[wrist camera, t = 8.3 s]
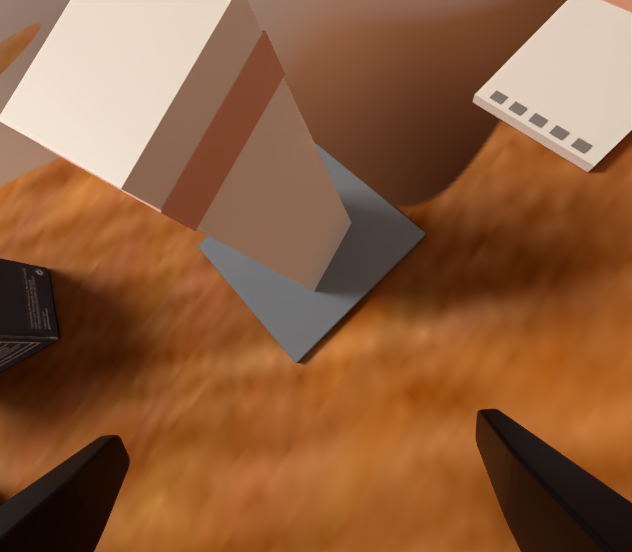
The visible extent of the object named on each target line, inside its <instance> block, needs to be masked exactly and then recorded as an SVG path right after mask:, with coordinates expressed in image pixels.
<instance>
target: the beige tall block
mask: <svg viewBox="0 0 632 552" xmlns="http://www.w3.org/2000/svg"><path fill="white" fill-rule="evenodd" d="M284 75H285V73H284V71H283V69H282V66H281V64H280V62H279V60H278V57H277V55H276V53H275V51H274V49H273V46H272V44H271V42H270V40H269V38H268V36H267V33H266V31H262V30H261V28H260V26H259V24H258V22H257V20H256V18H255V15H254V13H253V11H252V9H251V7H250V5H249V2H248V0H70V2H69V4H68V5H67V7H66V8H65V10H64V12H63V13H62V15H61V17H60V18H59V20H58V22H57V23H56V25H55V26H54V28H53V30H52V31H51V33H50V35H49V36H48V38H47V40H46V41H45V43H44V44H43V46H42V48H41V49H40V51H39V53H38V54H37V56H36V58H35V59H34V61H33V62H32V64H31V66H30V67H29V69H28V71H27V72H26V74H25V76H24V77H23V79H22V80H21V82H20V84H19V85H18V87H17V89H16V91H15V92H14V94H13V96H12V97H11V99H10V100H9V102H8V103H7V105H6V107H5V108H4V110H3V112H2V113H1V115H0V122H2V123H4V124H5V125H7V126H9V127H11V128H13V129H14V130H16V131H18V132H20V133H22V134H23V135H25V136H27V137H29V138H31V139H32V140H34V141H36V142H38V143H40V144H41V145H42V147H44V148H46V149H48V150H50V151H51V152H53V153H55V154H57V155H59V156H60V157H62V158H64V159H66V160H67V161H69V162H71V163H73V164H75V165H76V166H78V167H80V168H82V169H84V170H85V171H87V172H89V173H91V174H92V175H94V176H96V177H98V178H100V179H101V180H103V181H105V182H107V183H109V184H110V185H112V186H114V187H116V188H118V189H119V190H121V191H123V192H125V193H126V194H128V195H130V196H132V197H134V198H135V199H137V200H139V201H141V202H143V203H144V204H146V205H148V206H150V207H151V208H153V209H155V210H157V211H159V212H160V213H162V214H164V215H166V216H168V217H170V218H172V219H174V220H176V221H178V222H180V223H181V224H183V225H185V226H187V227H189V228H191V229H193V230H195V231H196V229H197V230H199V231H201V232H203V233H205V234H207V235H209V236H210V237H212V238H214V239H216V240H218V241H220V242H222V243H224V244H225V245H227V246H229V247H231V248H233V249H235V250H237V251H239V252H241V253H242V254H244V255H246V256H248V257H250V258H252V259H254V260H256V261H257V262H259V263H261V264H263V265H265V266H267V267H269V268H271V269H272V270H274V271H276V272H278V273H280V274H282V275H284V276H286V277H287V278H289V279H291V280H293V281H295V282H297V283H299V284H301V285H302V286H304V287H306V288H308V289H310V290H312V291H315V289H316V287H317V285H318V283H319V281H320V280H321V278H322V276H323V274H324V272H325V271H326V269H327V267H328V265H329V263H330V261H331V260H332V258H333V256H334V254H335V252H336V250H337V249H338V247H339V245H340V243H341V241H342V240H343V238H344V236H345V234H346V232H347V230H348V229H349V227H350V225H351V220H350V218H349V216H348V214H347V212H346V210H345V208H344V205H343V203H342V201H341V199H340V197H339V195H338V193H337V190H336V188H335V186H334V184H333V182H332V180H331V178H330V176H329V173H328V171H327V169H326V167H325V165H324V163H323V161H322V158H321V156H320V154H319V152H318V150H317V148H316V146H315V143H314V141H313V139H312V137H311V135H310V133H309V131H308V129H307V126H306V124H305V122H304V120H303V118H302V116H301V114H300V111H299V109H298V107H297V105H296V103H295V101H294V99H293V96H292V94H291V92H290V90H289V88H288V86H287V84H286V82H285V79H284Z"/></svg>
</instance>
